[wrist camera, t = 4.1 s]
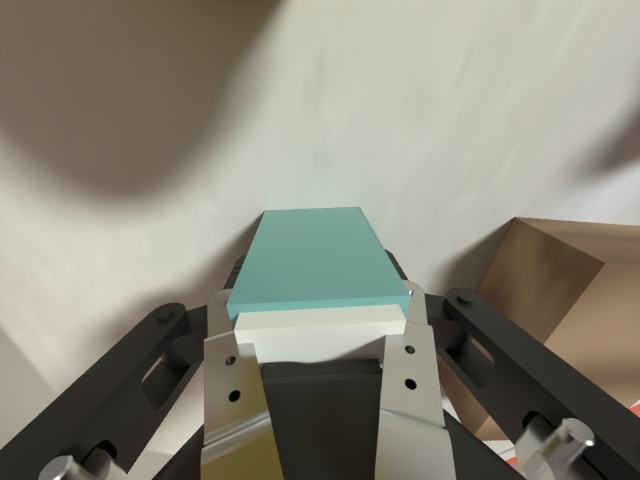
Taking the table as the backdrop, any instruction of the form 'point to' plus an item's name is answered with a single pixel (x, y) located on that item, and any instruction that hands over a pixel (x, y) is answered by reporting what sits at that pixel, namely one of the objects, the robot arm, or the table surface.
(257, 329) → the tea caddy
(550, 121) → the table surface
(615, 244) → the brown rectangular block
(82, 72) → the table surface
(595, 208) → the table surface
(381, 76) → the table surface
